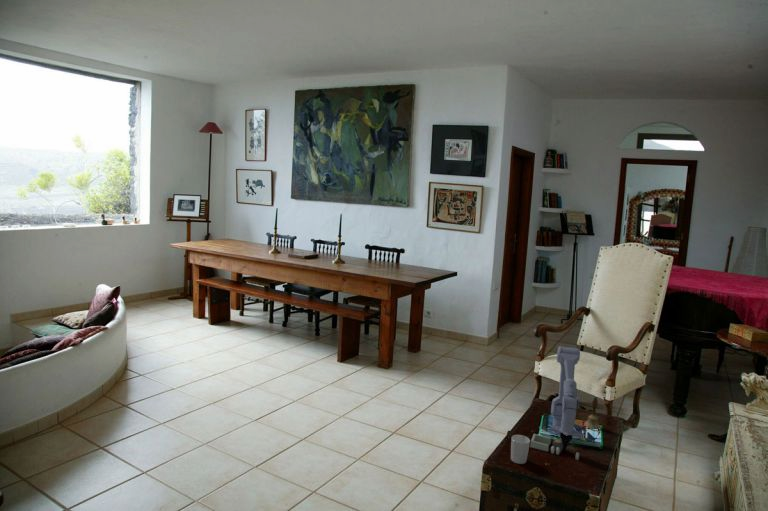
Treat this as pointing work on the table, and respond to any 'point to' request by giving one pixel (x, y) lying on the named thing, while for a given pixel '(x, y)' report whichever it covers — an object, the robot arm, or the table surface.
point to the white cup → (519, 448)
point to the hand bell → (593, 417)
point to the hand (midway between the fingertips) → (564, 448)
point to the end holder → (537, 444)
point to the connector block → (557, 444)
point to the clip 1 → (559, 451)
